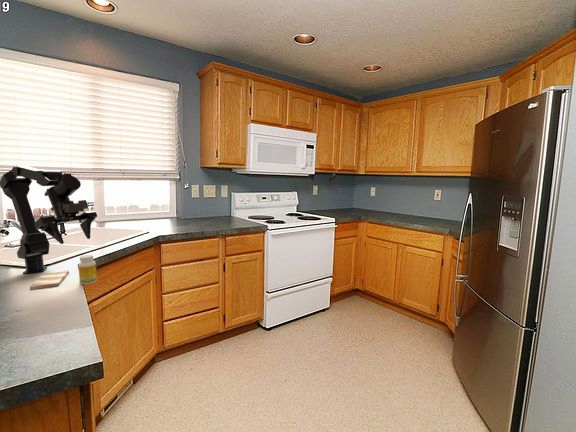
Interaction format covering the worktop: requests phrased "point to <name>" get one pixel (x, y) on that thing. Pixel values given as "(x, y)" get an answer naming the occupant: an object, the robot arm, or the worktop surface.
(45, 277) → the beige rectangular board
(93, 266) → the supplement bottle
